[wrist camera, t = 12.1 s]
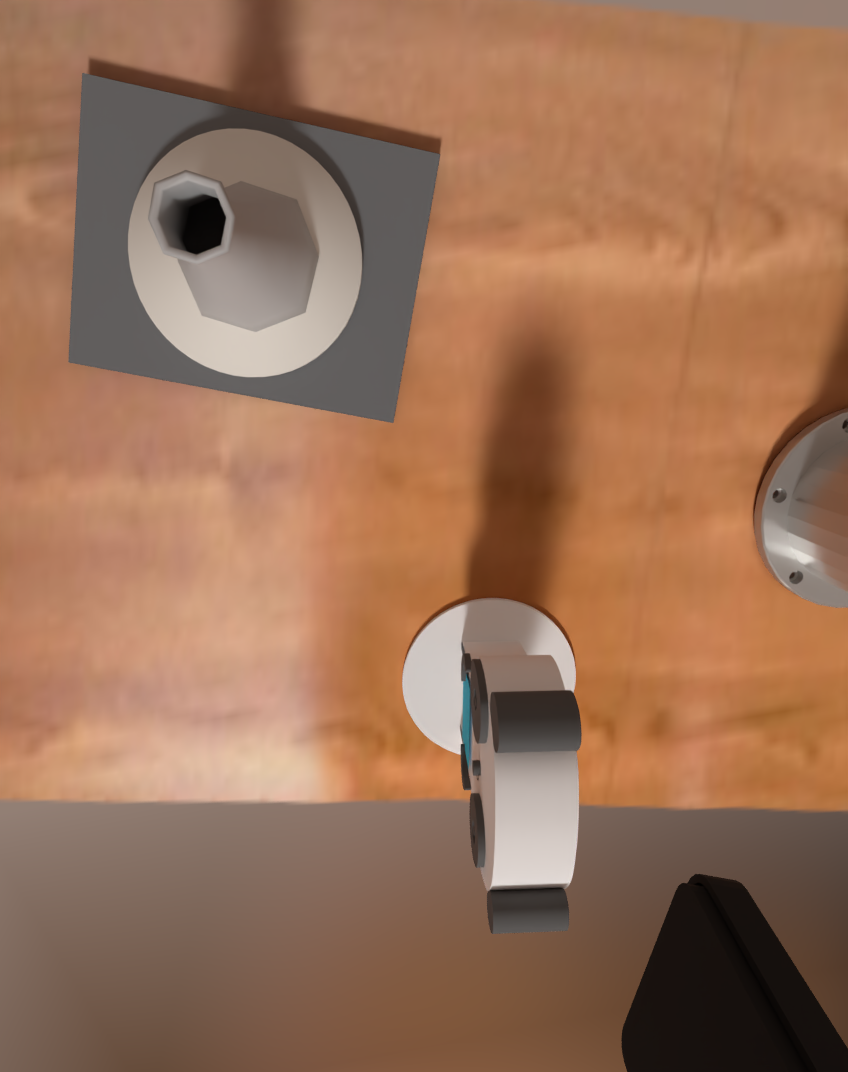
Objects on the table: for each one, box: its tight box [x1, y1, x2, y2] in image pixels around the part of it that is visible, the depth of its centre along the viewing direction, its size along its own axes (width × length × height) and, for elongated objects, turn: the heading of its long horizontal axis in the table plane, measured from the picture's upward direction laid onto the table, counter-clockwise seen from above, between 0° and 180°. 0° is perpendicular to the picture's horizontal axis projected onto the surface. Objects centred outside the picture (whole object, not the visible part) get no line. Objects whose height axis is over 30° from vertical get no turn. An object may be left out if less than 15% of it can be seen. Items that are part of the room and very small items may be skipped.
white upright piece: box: [402, 598, 581, 934], centre depth 35 cm, size 12×11×15 cm
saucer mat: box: [69, 73, 440, 423], centre depth 34 cm, size 18×14×2 cm
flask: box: [148, 170, 319, 332], centre depth 29 cm, size 7×7×10 cm
